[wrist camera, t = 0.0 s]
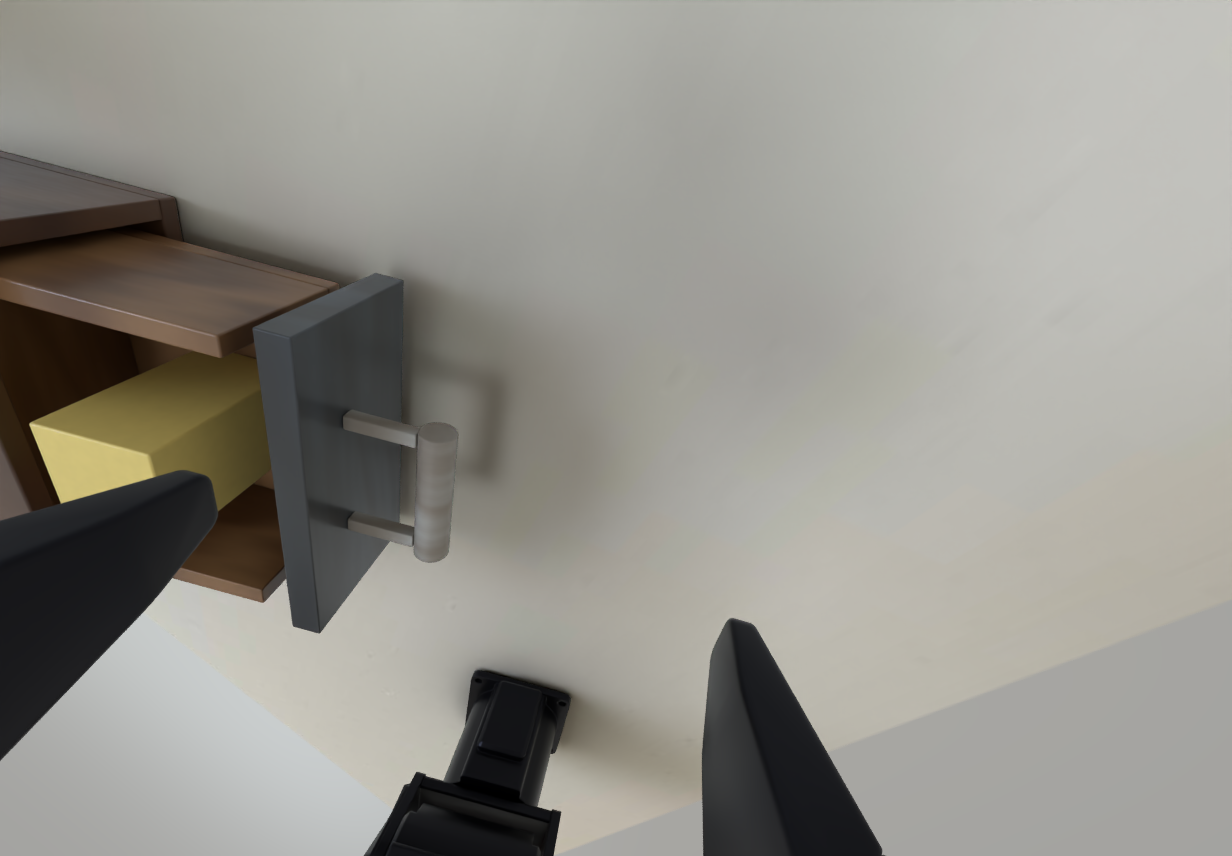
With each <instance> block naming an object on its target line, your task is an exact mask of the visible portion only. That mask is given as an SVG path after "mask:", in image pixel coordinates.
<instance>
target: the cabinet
mask: <svg viewBox="0 0 1232 856" xmlns="http://www.w3.org/2000/svg"><path fill="white" fill-rule="evenodd" d="M121 226H125V227H128V228H132V229H136V230H140V231H144V232H147V233H151V234H155V235H159V236H162V237H166V238H170V239H174V240H177V241H181V242H183V238H182V232H181V227H180V222H179V216H178V211H177V206H176V201H175V198H174V197H172V196H168V195H164V194H160V193H157V192H153V191H149V190H145V189H142V188H138V187H134V186H130V185H126V184H123V183H119V182H115V181H111V180H108V179H104V178H100V177H96V176H92V175H89V174H85V173H81V172H77V171H74V170H70V169H66V168H62V167H58V166H55V165H51V164H47V163H43V162H40V161H36V160H32V159H28V158H25V157H21V156H17V155H13V154H9V153H6V152H2V151H0V247H3V246H9V245H15V244H21V243H27V242H33V241H39V240H45V239H50V238H56V237H62V236H68V235H74V234H80V233H86V232H91V231H97V230H103V229H109V228H115V227H121ZM50 506H54V502H53V500H52V498H51V495H50V493H49V490H48V488H47V485H46V483H45V481H44V478H43V476H42V473H41V471H40V468H39V466H38V464H37V461H36V459H35V456H34V454H33V451H32V449H31V447H30V444H29V442H28V439H27V437H26V434H25V432H24V429H23V427H22V425H21V422H20V420H19V417H18V415H17V412H16V410H15V408H14V405H13V403H12V400H11V398H10V395H9V393H8V391H7V388H6V386H5V383H4V381H3V378H2V376H1V373H0V521H1V520H4V519H8V518H11V517H15V516H18V515H22V514H25V513H29V512H33V511H36V510H40V509H43V508H47V507H50Z"/></svg>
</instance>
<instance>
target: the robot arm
mask: <svg viewBox="0 0 1232 856" xmlns="http://www.w3.org/2000/svg"><path fill="white" fill-rule="evenodd" d="M217 517H218V509H217V504H216V499H215V494H214V490H213V485H212V481H211V480H210V478H209V477H208V476H206V475H203V474H199V473H196V472H192V471H188V470H178V471H174V472H171V473H167V474H164V475H160V476H156V477H153V478H149V479H146V480H142V481H139V482H135V483H132V484H128V485H125V486H121V487H118V488H114V489H110V490H107V491H103V492H100V493H96V494H93V495H89V496H86V497H82V498H79V499H75V500H72V501H68V502H64V503H61V504H57V505H54V506H50V507H47V508H43V509H40V510H36V511H33V512H29V513H25V514H22V515H18V516H15V517H11V518H8V519H4V520H1V521H0V761H1V759H2V758H3V757H4V756H5V755H6V754H7V753H8V752H9V751H10V750H11V749H12V748H13V747H14V746H15V745H16V744H17V743H18V742H19V741H20V740H21V739H22V738H23V737H24V736H25V734H27V733H28V731H29V730H30V729H31V728H32V727H33V726H34V725H35V724H36V723H37V722H38V721H39V720H40V719H41V718H42V717H43V716H44V715H45V714H46V713H47V712H48V711H49V710H50V709H51V708H52V707H53V705H54V704H55V703H56V702H57V701H58V700H59V699H60V698H61V697H62V696H63V695H64V694H65V693H66V692H67V691H68V690H69V689H70V688H71V687H72V686H73V685H74V684H75V683H76V682H77V681H78V680H79V679H80V677H81V676H82V675H83V674H84V673H85V672H86V671H87V670H88V669H89V668H90V667H91V666H92V665H93V664H94V663H95V662H96V661H97V660H98V659H99V658H100V657H101V656H102V655H103V653H104V652H106V650H107V649H108V648H109V647H110V646H111V645H112V644H113V643H114V642H115V641H116V640H117V639H118V638H119V637H120V636H121V635H122V634H123V633H124V632H125V631H126V630H127V628H129V627H130V625H132V623H133V622H134V621H135V620H136V619H137V618H138V617H139V616H140V615H141V614H142V613H143V612H144V611H145V610H146V609H147V608H148V606H149V605H150V604H151V603H152V602H153V601H154V600H155V598H156V597H157V596H158V595H159V594H160V593H161V591H162V590H163V589H164V588H165V586H166V585H167V584H168V583H169V581H170V580H171V579H172V578H173V576H174V575H175V574H176V573H177V571H178V570H179V569H180V568H181V566H182V565H183V564H184V563H185V561H186V560H187V559H188V558H189V556H190V555H191V554H192V553H193V551H194V550H195V549H196V548H197V546H198V545H199V544H200V543H201V541H202V540H203V539H204V538H205V536H206V535H207V534H208V533H209V531H210V530H211V529H212V528H213V526H214V524H215V522H216V520H217ZM570 702H571V697H570V696H569V695H567V694H565V693H561V692H558V691H554V690H550V689H547V688H543V687H539V686H536V685H532V684H528V683H525V682H521V681H518V680H514V679H510V678H507V677H503V676H499V675H496V674H492V673H488V672H485V671H480V670H477V671H475V672H474V674H473V676H472V679H471V685H470V693H469V700H468V708H467V715H466V723H465V728H464V730H463V733H462V735H461V738H460V740H459V743H458V745H457V748H456V750H455V753H454V755H453V758H452V761H451V763H450V766H449V768H448V771H447V773H446V776H445V778H444V781H441V780H438V779H434V778H431V777H427V776H426V774H423V773H420V772H416V774H415V776H414V778H413V779H412V781H411V783H410V784H406V785H404V787H403V789H402V791H401V794H400V796H399V798H398V800H397V802H396V804H395V807H394V809H393V811H392V813H391V815H390V816H389V818H388V820H387V822H386V823H385V825H384V826H383V828H382V829H381V831H380V832H379V834H378V835H377V837H376V838H375V840H374V841H373V843H372V844H371V846H370V847H369V849H368V850H367V852H366V853H365V855H364V856H553V855H554V850H555V844H556V839H557V833H558V827H559V822H560V816H561V812H560V811H557V810H553V809H552V811H550V810H546V809H543V808H539V807H537V806H538V802H539V798H540V794H541V790H542V786H543V782H544V778H545V774H546V770H547V765H548V761H549V757H550V754H553V753H555V752H556V749H557V746H558V743H559V739H560V736H561V733H562V729H563V726H564V723H565V720H566V716H567V713H568V710H569V706H570ZM702 803H703V856H885V855H882V848H881V846H880V844H879V843H878V841H877V839H876V837H875V836H874V834H873V832H872V830H871V829H870V827H869V825H868V823H867V822H866V820H865V818H864V816H863V815H862V813H861V811H860V809H859V808H858V806H857V804H856V802H855V801H854V799H853V797H852V795H851V794H850V792H849V790H848V788H847V787H846V785H845V783H844V782H843V780H842V778H841V776H840V774H839V773H838V771H837V769H836V767H835V766H834V764H833V762H832V760H831V759H830V757H829V755H828V753H827V751H826V750H825V748H824V746H823V744H822V743H821V741H820V739H819V737H818V736H817V734H816V732H815V730H814V729H813V727H812V725H811V723H810V722H809V720H808V718H807V716H806V715H805V713H804V711H803V709H802V708H801V706H800V704H799V702H798V701H797V699H796V697H795V695H794V694H793V692H792V690H791V688H790V687H789V685H788V683H787V681H786V680H785V678H784V676H783V674H782V673H781V671H780V669H779V667H778V666H777V664H776V662H775V660H774V658H773V657H772V655H771V653H770V651H769V650H768V648H767V646H766V644H765V643H764V641H763V639H762V637H761V636H760V634H759V632H758V630H757V629H756V627H755V626H754V625H753V624H751V623H749V622H745V621H741V620H738V619H734V618H731V619H729V620H728V621H727V622H726V623H725V625H724V627H723V629H722V631H721V634H720V636H719V638H718V640H717V642H716V644H715V646H714V648H713V651H712V654H711V659H710V669H709V680H708V691H707V702H706V713H705V724H704V735H703V748H702Z"/></svg>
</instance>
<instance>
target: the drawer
mask: <svg viewBox="0 0 1232 856" xmlns="http://www.w3.org/2000/svg"><path fill="white" fill-rule="evenodd" d="M402 340H403V280H400V279H397V278H393V277H389V276H385V275H381V274H378V273H374V274H372V275H370V276H368V277H365V278H363V279H361V280H359V281H356V282H354V283H352V284H350V285H347V286H345V287H343V288H341V289H340V286H339V284H338V283H335V282H332V281H328V280H324V279H320V278H317V277H313V276H309V275H305V274H302V273H298V272H294V271H290V270H286V269H283V268H279V267H275V266H271V265H268V264H264V263H260V262H256V261H253V260H249V259H245V258H241V257H238V256H234V255H230V254H226V253H223V252H219V251H215V250H211V249H207V248H204V247H200V246H196V245H192V244H189V243H185V242H181V241H177V240H174V239H170V238H166V237H162V236H159V235H155V234H151V233H147V232H144V231H140V230H136V229H132V228H128V227H125V226H121V227H115V228H109V229H103V230H97V231H91V232H86V233H80V234H74V235H68V236H62V237H56V238H50V239H45V240H39V241H33V242H27V243H21V244H15V245H9V246H3V247H0V373H1V376H2V378H3V381H4V383H5V386H6V388H7V391H8V393H9V395H10V398H11V400H12V403H13V405H14V408H15V410H16V412H17V415H18V417H19V420H20V422H21V425H22V427H23V429H24V432H25V434H26V437H27V439H28V442H29V444H30V447H31V449H32V451H33V454H34V456H35V459H36V461H37V464H38V466H39V468H40V471H41V473H42V476H43V478H44V481H45V483H46V485H47V488H48V490H49V493H50V495H51V498H52V500H53V502H54V505H57V504H61V502H60V500H59V497H58V495H57V492H56V490H55V487H54V485H53V482H52V480H51V477H50V475H49V472H48V470H47V467H46V465H45V462H44V460H43V457H42V455H41V452H40V450H39V447H38V445H37V442H36V440H35V437H34V435H33V432H32V430H31V427H30V425H29V424H30V423H31V422H32V421H35V420H37V419H39V418H42V417H44V416H46V415H48V414H51V413H53V412H55V411H58V410H60V409H62V408H64V407H67V406H69V405H71V404H74V403H76V402H78V401H80V400H83V399H85V398H87V397H89V396H92V395H94V394H96V393H99V392H101V391H103V390H105V389H108V388H110V387H112V386H115V385H117V384H119V383H121V382H124V381H126V380H128V379H130V378H133V377H135V376H137V375H140V374H142V373H144V372H146V371H149V370H151V369H153V368H156V367H158V366H160V365H162V364H165V363H167V362H169V361H172V360H174V359H176V358H178V357H181V356H183V355H185V354H187V353H190V352H192V351H195V352H199V353H203V354H206V355H210V356H214V357H218V358H223V357H225V356H227V355H230V354H232V353H236V354H239V355H243V356H247V357H251V358H254V359H257V366H258V374H259V381H260V388H261V396H262V403H263V410H264V418H265V425H266V432H267V440H268V447H269V455H270V462H271V470H270V471H268V472H267V473H266V474H265V475H263V476H262V477H261V478H260V479H258V480H257V481H256V482H254V483H253V484H252V485H251V486H249V487H248V488H247V489H246V490H244V491H243V492H242V493H241V494H239V495H238V496H237V497H236V498H234V499H233V500H232V501H230V502H229V503H228V504H227V505H225V506H224V507H223V508H222V509H220V510H219V511H218V517H217V520H216V522H215V524H214V526H213V528H212V529H211V530H210V531H209V533H208V534H207V535H206V536H205V538H204V539H203V540H202V541H201V543H200V544H199V545H198V546H197V548H196V549H195V550H194V551H193V553H192V554H191V555H190V556H189V558H188V559H187V560H186V561H185V563H184V564H183V565H182V566H181V568H180V569H179V570H178V571H177V573H176V574H175V575H174V576H173V578H174V579H178V580H181V581H185V582H189V583H192V584H196V585H200V586H203V587H207V588H211V589H214V590H218V591H221V592H225V593H229V594H232V595H236V596H240V597H243V598H247V599H251V600H254V601H258V602H262V603H264V602H265V601H266V600H267V599H268V598H269V597H270V595H271V594H272V593H273V592H274V591H275V590H276V589H277V588H278V587H279V586H280V585H281V584H282V582H283V581H284V580H285V579H287V587H288V594H289V601H290V609H291V616H292V624H293V626H294V627H297V628H301V629H304V630H308V631H312V632H315V633H321V631H322V630H323V629H324V627H325V626H326V625H327V623H328V622H329V621H330V619H331V618H332V617H333V615H334V614H335V613H336V611H337V610H338V609H339V607H340V606H341V605H342V604H343V602H344V601H345V600H346V598H347V597H348V596H349V594H350V593H351V592H352V590H353V589H354V588H355V586H356V585H357V584H358V582H359V581H360V580H361V578H362V577H363V576H364V574H365V573H366V572H367V571H368V569H369V568H370V567H371V565H372V564H373V563H374V561H375V560H376V559H377V557H378V556H379V555H380V553H381V552H382V551H383V549H384V548H385V547H386V545H387V544H388V543H389V541H392V542H395V543H399V544H403V545H406V546H410V547H412V546H413V545H414V554H415V556H416V557H417V558H418V559H419V560H421V561H423V562H428V563H432V562H437V561H440V560H442V559H443V558H445V557H446V555H447V554H448V552H449V542H450V529H451V517H452V505H453V493H454V481H455V469H456V456H457V444H458V432H457V430H456V429H455V428H454V427H453V426H451V425H449V424H445V423H429V424H426V425H423V426H422V427H421V428H419V427H415V426H411V425H408V424H404V423H401V400H402ZM401 445H404V446H408V447H412V448H416V447H417V472H416V500H415V527H412V526H409V525H405V524H401V523H399V520H400V460H401Z"/></svg>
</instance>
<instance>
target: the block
mask: <svg viewBox="0 0 1232 856" xmlns="http://www.w3.org/2000/svg"><path fill="white" fill-rule="evenodd" d="M29 425H30V427H31V430H32V432H33V435H34V437H35V440H36V442H37V445H38V447H39V450H40V452H41V455H42V457H43V460H44V462H45V465H46V467H47V470H48V472H49V475H50V477H51V480H52V482H53V485H54V487H55V490H56V492H57V495H58V497H59V500H60V502H61V503H64V502H68V501H72V500H75V499H79V498H82V497H86V496H89V495H93V494H96V493H100V492H103V491H107V490H110V489H114V488H118V487H121V486H125V485H128V484H132V483H135V482H139V481H142V480H146V479H149V478H153V477H156V476H160V475H164V474H167V473H171V472H174V471H178V470H188V471H192V472H196V473H199V474H203V475H206V476H208V477H209V478H210V480H211V481H212V485H213V490H214V494H215V499H216V504H217V509H218V511H219V510H220V509H222V508H223V507H224V506H225V505H227V504H228V503H229V502H230V501H232V500H233V499H234V498H236V497H237V496H238V495H239V494H241V493H242V492H243V491H244V490H246V489H247V488H248V487H249V486H251V485H252V484H253V483H254V482H256V481H257V480H258V479H260V478H261V477H262V476H263V475H265V474H266V473H267V472H268V471H270V470H271V462H270V455H269V447H268V440H267V432H266V425H265V418H264V410H263V403H262V396H261V388H260V381H259V374H258V366H257V359H254V358H251V357H247V356H243V355H239V354H236V353H232V354H230V355H227V356H225V357H223V358H218V357H214V356H210V355H206V354H203V353H199V352H195V351H192V352H190V353H187V354H185V355H183V356H181V357H178V358H176V359H174V360H172V361H169V362H167V363H165V364H162V365H160V366H158V367H156V368H153V369H151V370H149V371H146V372H144V373H142V374H140V375H137V376H135V377H133V378H130V379H128V380H126V381H124V382H121V383H119V384H117V385H115V386H112V387H110V388H108V389H105V390H103V391H101V392H99V393H96V394H94V395H92V396H89V397H87V398H85V399H83V400H80V401H78V402H76V403H74V404H71V405H69V406H67V407H64V408H62V409H60V410H58V411H55V412H53V413H51V414H48V415H46V416H44V417H42V418H39V419H37V420H35V421H32V422H31V423H30V424H29Z"/></svg>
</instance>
